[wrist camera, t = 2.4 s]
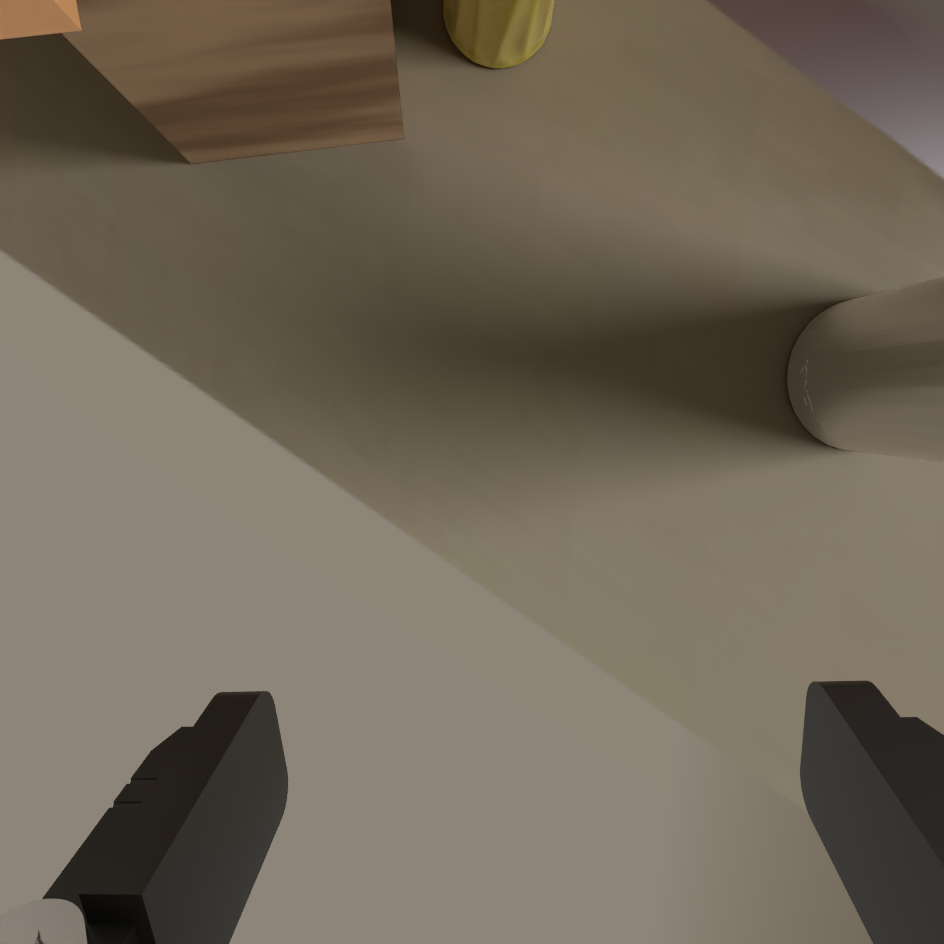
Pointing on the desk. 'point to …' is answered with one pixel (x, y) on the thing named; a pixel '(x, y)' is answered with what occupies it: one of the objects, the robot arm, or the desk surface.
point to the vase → (498, 29)
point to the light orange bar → (37, 17)
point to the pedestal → (249, 71)
